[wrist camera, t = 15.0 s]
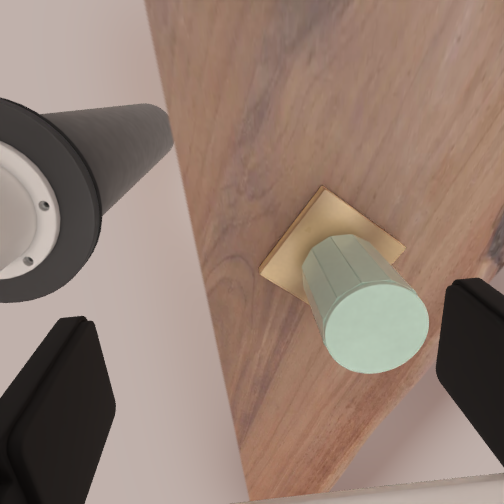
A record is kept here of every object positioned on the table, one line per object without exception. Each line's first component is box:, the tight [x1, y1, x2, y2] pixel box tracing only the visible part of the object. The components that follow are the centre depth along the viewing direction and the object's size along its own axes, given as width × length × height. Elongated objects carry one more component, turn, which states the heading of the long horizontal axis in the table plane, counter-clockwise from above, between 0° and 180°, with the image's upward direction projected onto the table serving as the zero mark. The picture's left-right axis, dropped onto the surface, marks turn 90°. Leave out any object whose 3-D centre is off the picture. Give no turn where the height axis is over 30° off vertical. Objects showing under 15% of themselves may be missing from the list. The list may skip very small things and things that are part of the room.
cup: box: [302, 234, 429, 374], centre depth 30 cm, size 7×7×10 cm
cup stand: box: [259, 185, 406, 305], centre depth 32 cm, size 10×10×13 cm
